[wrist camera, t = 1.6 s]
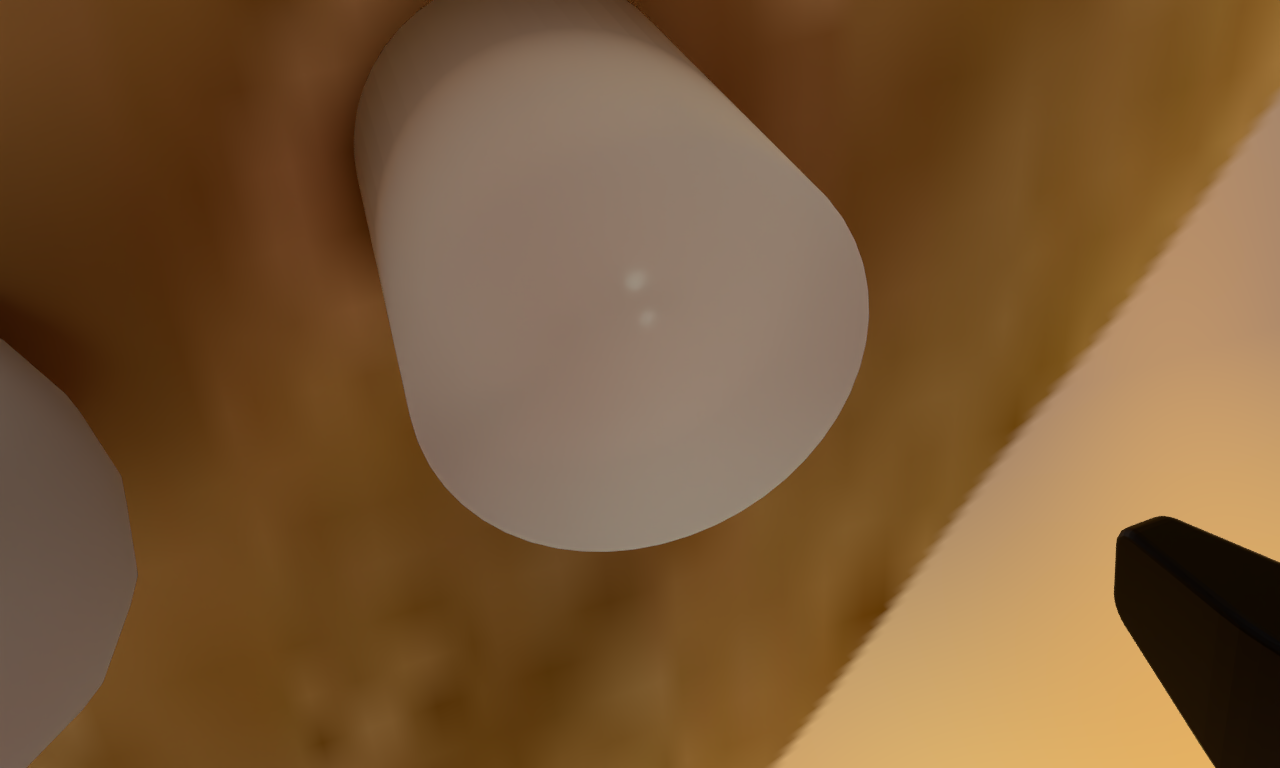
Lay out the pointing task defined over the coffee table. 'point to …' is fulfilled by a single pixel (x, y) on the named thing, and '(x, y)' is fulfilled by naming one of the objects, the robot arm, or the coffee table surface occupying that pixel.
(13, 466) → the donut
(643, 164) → the white rounded cylinder
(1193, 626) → the robot arm
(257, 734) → the coffee table surface
